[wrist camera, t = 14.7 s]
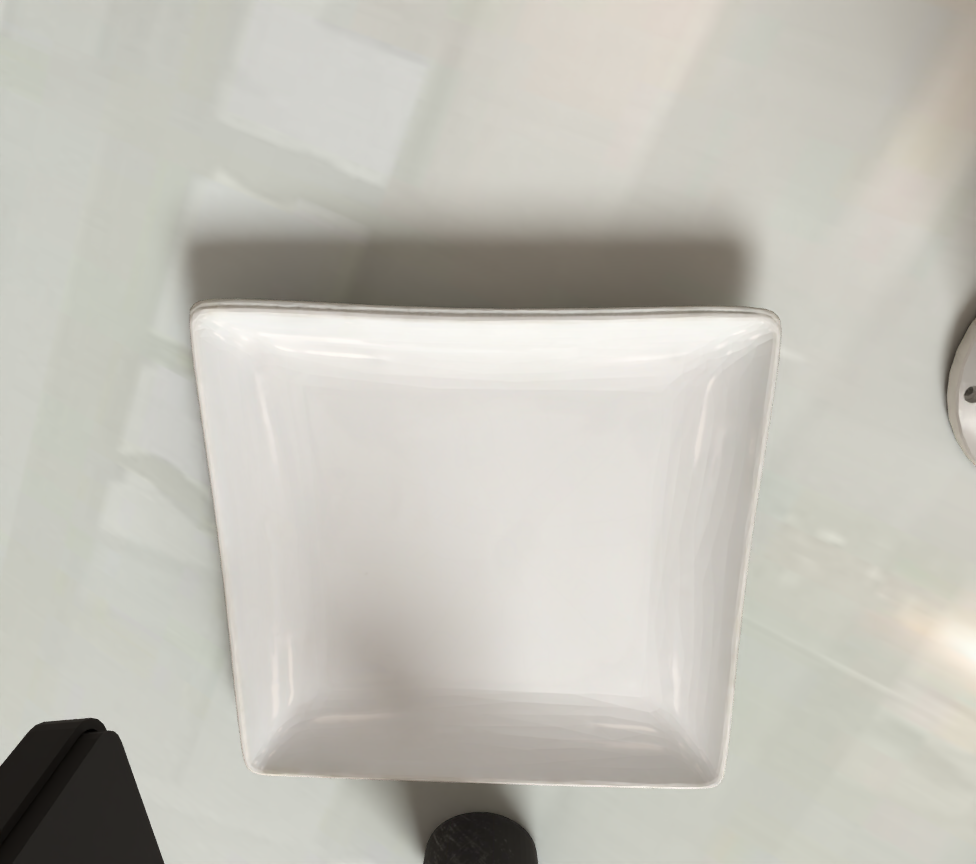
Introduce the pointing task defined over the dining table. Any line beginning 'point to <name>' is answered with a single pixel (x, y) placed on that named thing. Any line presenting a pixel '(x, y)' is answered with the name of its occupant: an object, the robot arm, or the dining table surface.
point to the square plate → (485, 535)
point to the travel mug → (480, 841)
